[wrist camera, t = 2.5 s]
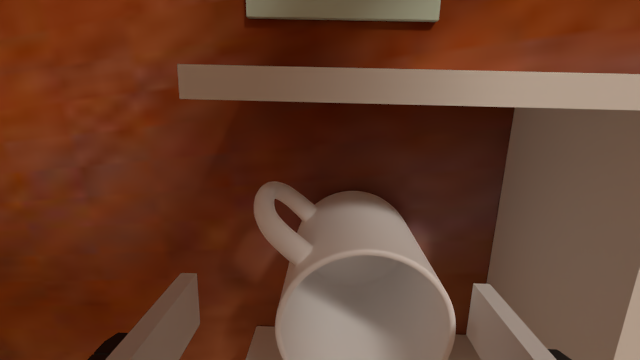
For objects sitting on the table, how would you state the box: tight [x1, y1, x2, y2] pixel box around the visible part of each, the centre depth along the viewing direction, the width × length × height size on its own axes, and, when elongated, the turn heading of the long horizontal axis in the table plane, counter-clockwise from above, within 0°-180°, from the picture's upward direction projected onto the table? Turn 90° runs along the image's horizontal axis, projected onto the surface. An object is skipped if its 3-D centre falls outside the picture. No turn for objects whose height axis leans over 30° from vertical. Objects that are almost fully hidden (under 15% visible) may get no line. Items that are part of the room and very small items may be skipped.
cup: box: [254, 181, 456, 360], centre depth 20 cm, size 8×12×10 cm
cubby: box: [177, 64, 640, 360], centre depth 19 cm, size 20×19×11 cm
